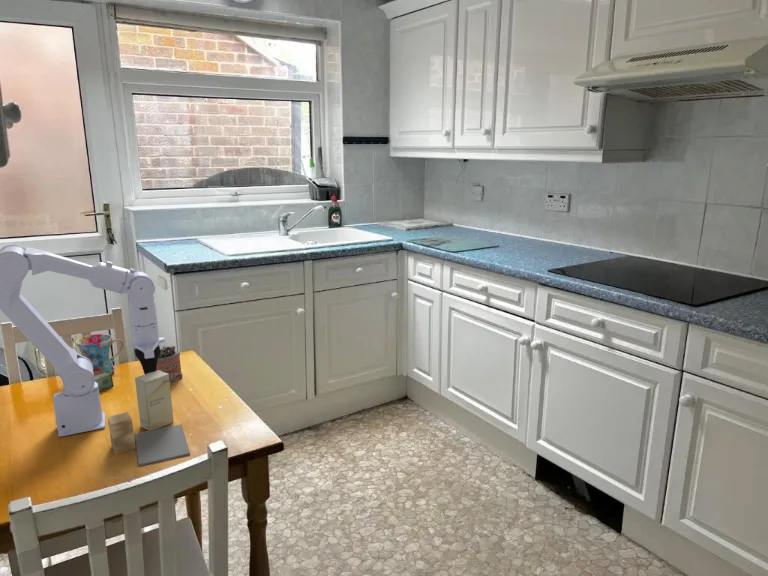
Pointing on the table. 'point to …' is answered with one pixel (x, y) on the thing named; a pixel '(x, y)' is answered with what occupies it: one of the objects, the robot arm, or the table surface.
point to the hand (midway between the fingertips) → (150, 376)
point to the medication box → (104, 381)
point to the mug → (98, 351)
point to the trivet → (161, 444)
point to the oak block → (121, 433)
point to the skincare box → (154, 400)
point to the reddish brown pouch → (170, 362)
